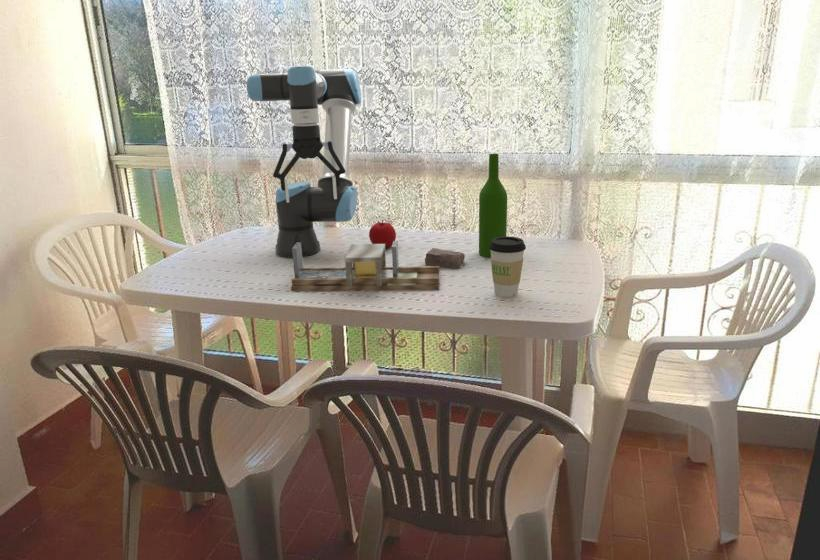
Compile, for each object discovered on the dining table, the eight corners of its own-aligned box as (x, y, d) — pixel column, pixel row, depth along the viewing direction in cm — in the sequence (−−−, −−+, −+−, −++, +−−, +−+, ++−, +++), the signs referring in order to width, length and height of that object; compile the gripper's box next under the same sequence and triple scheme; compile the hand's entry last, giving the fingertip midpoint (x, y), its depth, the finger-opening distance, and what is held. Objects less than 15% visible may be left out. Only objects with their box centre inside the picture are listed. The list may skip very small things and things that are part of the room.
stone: (460, 269, 193) (460, 255, 191) (423, 267, 197) (422, 253, 195) (466, 261, 201) (466, 247, 200) (431, 259, 205) (430, 245, 203)
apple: (398, 243, 222) (397, 216, 218) (393, 251, 213) (392, 222, 210) (373, 243, 223) (371, 215, 220) (367, 250, 215) (365, 222, 212)
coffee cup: (484, 288, 176) (485, 236, 171) (519, 286, 177) (520, 234, 172) (492, 300, 167) (493, 246, 162) (528, 298, 168) (530, 244, 163)
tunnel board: (291, 290, 179) (288, 258, 176) (301, 274, 192) (298, 244, 189) (438, 289, 176) (438, 256, 173) (439, 273, 190) (438, 242, 186)
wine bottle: (507, 250, 210) (509, 152, 199) (504, 258, 202) (507, 156, 191) (480, 249, 212) (481, 152, 201) (477, 257, 204) (477, 156, 193)
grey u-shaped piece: (294, 281, 181) (291, 248, 178) (300, 273, 188) (297, 241, 185) (397, 280, 180) (395, 247, 176) (399, 271, 187) (397, 240, 183)
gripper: (259, 128, 169) (267, 205, 176) (351, 123, 173) (356, 199, 180) (260, 125, 176) (267, 200, 183) (349, 121, 180) (353, 194, 187)
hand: (311, 200), depth 181 cm, fingers open, 13 cm apart
